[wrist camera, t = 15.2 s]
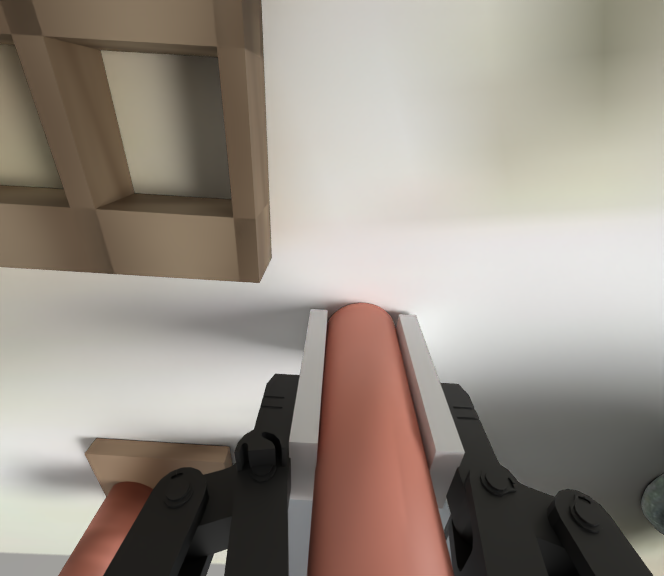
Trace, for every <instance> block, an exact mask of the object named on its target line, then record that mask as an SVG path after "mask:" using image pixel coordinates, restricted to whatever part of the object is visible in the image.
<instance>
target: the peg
mask: <svg viewBox="0 0 664 576" xmlns="http://www.w3.org/2000/svg"><path fill="white" fill-rule="evenodd" d="M307 576H454V572H453V568H452V564H451V559H450V555H449V551H448V547H447V543H446V538H445V534H444V530H443V526H442V522H441V517H440V513H439V509H438V505H437V501H436V496H435V492H434V488H433V484H432V480H431V475H430V471H429V467H428V463H427V459H426V455H425V450H424V446H423V442H422V438H421V434H420V429H419V425H418V421H417V417H416V413H415V408H414V404H413V400H412V396H411V392H410V387H409V383H408V379H407V375H406V371H405V366H404V362H403V358H402V354H401V350H400V346H399V341H398V337H397V333H396V329H395V325H394V322H393V319H392V318H391V316H390V315H389V314H388V313H387V312H386V311H385V310H383V309H382V308H380V307H378V306H376V305H373V304H368V303H354V304H350V305H347V306H344V307H342V308H341V309H339V310H337V311H336V312H335V313H334V314H333V315H332V316H331V318H330V319H329V321H328V323H327V331H326V344H325V357H324V371H323V384H322V397H321V410H320V423H319V437H318V450H317V463H316V468H315V477H314V490H313V503H312V516H311V528H310V541H309V554H308V567H307Z"/></svg>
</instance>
